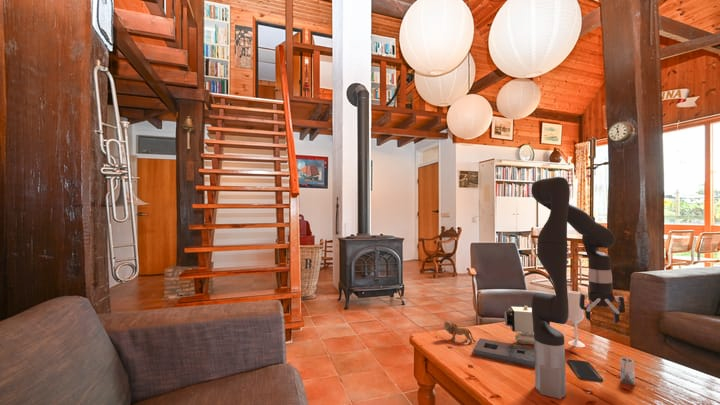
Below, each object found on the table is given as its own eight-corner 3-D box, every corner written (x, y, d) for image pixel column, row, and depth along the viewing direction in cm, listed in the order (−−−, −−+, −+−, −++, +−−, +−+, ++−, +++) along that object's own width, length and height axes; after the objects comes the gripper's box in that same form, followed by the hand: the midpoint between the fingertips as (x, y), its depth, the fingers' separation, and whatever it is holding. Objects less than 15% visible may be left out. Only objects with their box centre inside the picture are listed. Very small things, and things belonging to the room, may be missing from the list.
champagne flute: (567, 340, 153) (565, 290, 153) (583, 342, 150) (582, 291, 150) (568, 345, 147) (566, 293, 148) (586, 348, 144) (584, 294, 144)
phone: (588, 361, 130) (604, 380, 116) (588, 364, 130) (604, 383, 116) (565, 359, 132) (579, 377, 118) (566, 361, 132) (579, 380, 118)
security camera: (545, 341, 152) (543, 303, 153) (550, 348, 144) (549, 309, 144) (504, 338, 157) (503, 301, 157) (507, 345, 148) (506, 306, 149)
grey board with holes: (536, 368, 126) (536, 362, 126) (473, 355, 139) (473, 349, 139) (537, 354, 138) (537, 348, 138) (479, 343, 151) (479, 338, 151)
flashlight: (636, 386, 113) (635, 363, 113) (621, 383, 115) (620, 360, 115) (633, 381, 116) (632, 358, 116) (619, 378, 118) (619, 356, 118)
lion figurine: (443, 341, 154) (443, 322, 154) (444, 337, 159) (444, 318, 159) (476, 345, 149) (475, 325, 149) (476, 340, 154) (475, 321, 154)
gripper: (580, 281, 125) (582, 322, 124) (626, 283, 119) (628, 327, 119) (576, 277, 132) (578, 316, 131) (619, 279, 126) (621, 320, 125)
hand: (602, 321), depth 125 cm, fingers open, 8 cm apart
